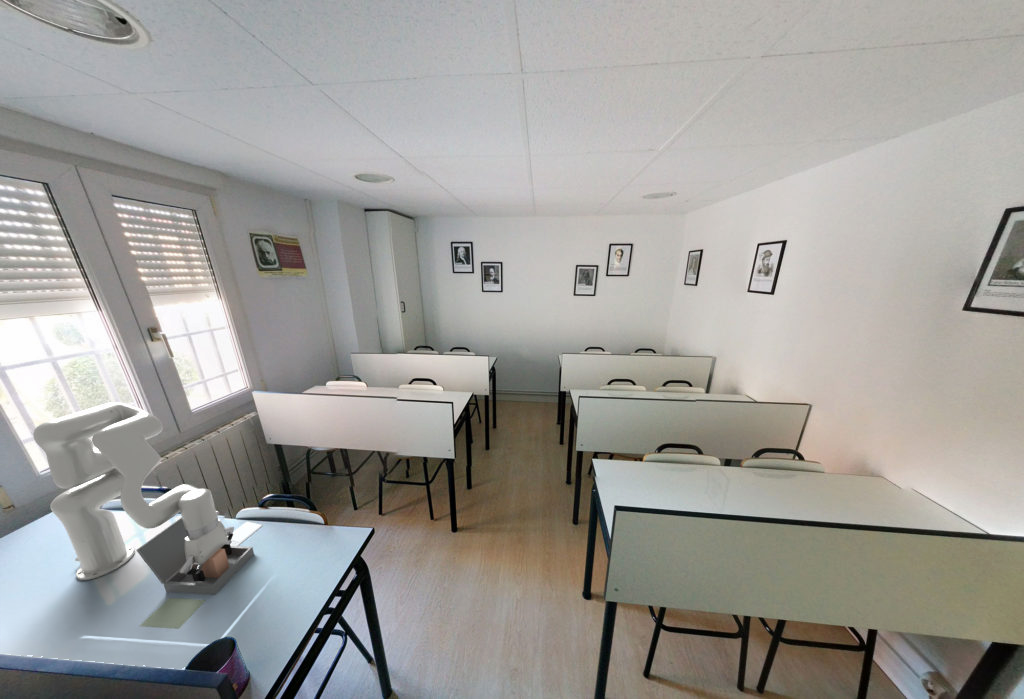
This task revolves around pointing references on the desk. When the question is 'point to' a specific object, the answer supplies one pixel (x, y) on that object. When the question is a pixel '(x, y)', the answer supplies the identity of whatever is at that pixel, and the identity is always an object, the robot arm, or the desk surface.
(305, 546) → the desk surface
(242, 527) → the external hard drive
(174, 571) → the equipment case
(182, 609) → the olive mat
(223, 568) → the block
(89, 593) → the desk surface
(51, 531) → the desk surface
